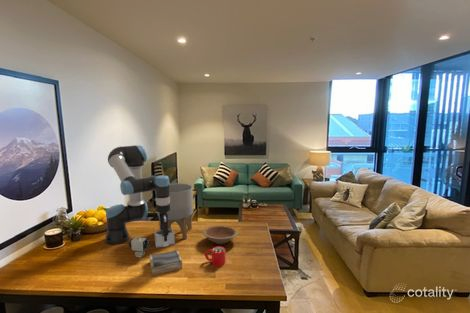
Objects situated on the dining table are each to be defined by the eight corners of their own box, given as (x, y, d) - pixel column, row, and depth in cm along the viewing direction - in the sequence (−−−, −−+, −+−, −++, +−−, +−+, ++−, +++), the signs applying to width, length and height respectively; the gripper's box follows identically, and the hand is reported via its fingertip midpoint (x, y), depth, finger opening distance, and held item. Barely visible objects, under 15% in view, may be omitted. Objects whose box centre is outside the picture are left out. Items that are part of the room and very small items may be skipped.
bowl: (244, 243, 174) (244, 232, 173) (213, 254, 161) (213, 241, 160) (225, 231, 193) (225, 220, 192) (196, 239, 180) (196, 228, 179)
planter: (182, 223, 207) (180, 181, 202) (200, 233, 189) (199, 187, 184) (152, 232, 190) (150, 187, 185) (169, 244, 172) (167, 194, 167)
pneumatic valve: (146, 259, 155) (145, 240, 153) (129, 257, 157) (127, 238, 156) (151, 254, 160) (150, 236, 159) (134, 252, 163) (133, 234, 161)
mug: (206, 258, 156) (206, 245, 155) (226, 258, 155) (226, 246, 154) (203, 265, 148) (203, 252, 147) (224, 266, 148) (224, 253, 146)
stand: (149, 262, 152) (149, 254, 151) (177, 256, 158) (177, 248, 157) (152, 275, 139) (151, 266, 138) (182, 268, 145) (182, 260, 145)
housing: (172, 240, 151) (172, 228, 150) (174, 244, 146) (174, 232, 145) (154, 243, 147) (154, 231, 146) (156, 248, 142) (155, 235, 141)
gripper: (154, 199, 150) (156, 237, 154) (158, 210, 133) (160, 252, 136) (167, 198, 153) (168, 235, 157) (172, 208, 136) (174, 249, 139)
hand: (164, 243), depth 147 cm, fingers closed on housing, 6 cm apart
